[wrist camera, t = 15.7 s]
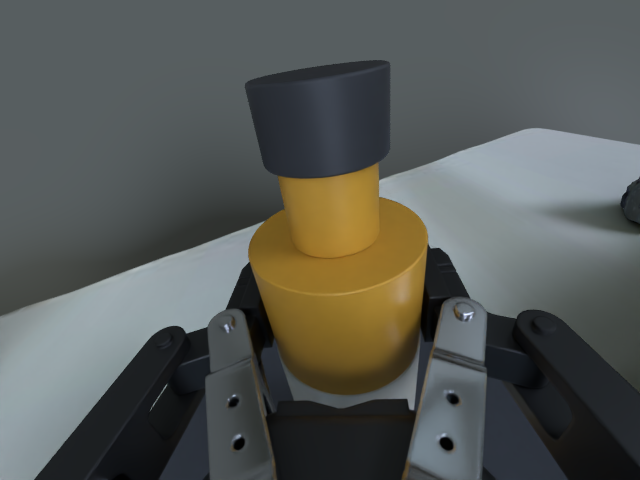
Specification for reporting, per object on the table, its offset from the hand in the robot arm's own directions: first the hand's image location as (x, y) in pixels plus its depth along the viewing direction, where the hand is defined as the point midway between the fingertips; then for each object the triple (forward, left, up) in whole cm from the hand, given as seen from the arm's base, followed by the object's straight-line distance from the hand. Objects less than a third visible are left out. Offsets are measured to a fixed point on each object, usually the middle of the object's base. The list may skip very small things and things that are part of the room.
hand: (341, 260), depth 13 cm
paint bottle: (+2, +1, -10) cm, 10 cm away
